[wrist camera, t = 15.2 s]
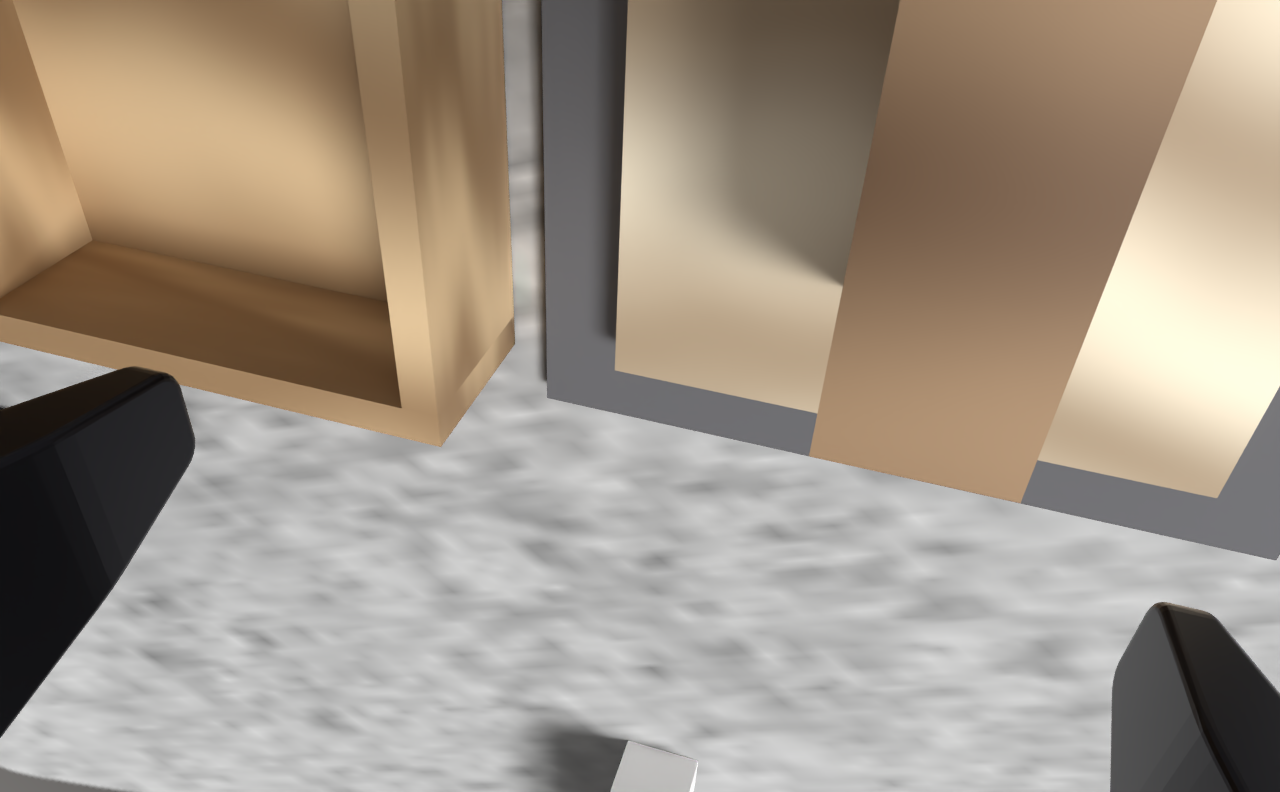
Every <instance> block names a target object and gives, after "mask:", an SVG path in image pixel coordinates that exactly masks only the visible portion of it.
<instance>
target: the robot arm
mask: <svg viewBox="0 0 1280 792" xmlns="http://www.w3.org/2000/svg"><path fill="white" fill-rule="evenodd" d="M194 449H195V437H194V433H193V429H192V426H191V422H190V419H189V415H188V412H187V408H186V405H185V402H184V398H183V395H182V391H181V388H180V385H179V383H178V382H177V380H176V379H175V378H174V377H173V376H172V375H170V374H168V373H165V372H161V371H157V370H153V369H148V368H144V367H138V366H130V367H125V368H122V369H119V370H116V371H113V372H110V373H107V374H104V375H102V376H99V377H96V378H93V379H90V380H87V381H84V382H81V383H78V384H75V385H72V386H69V387H67V388H64V389H61V390H58V391H55V392H52V393H49V394H46V395H43V396H40V397H37V398H34V399H31V400H29V401H26V402H23V403H20V404H17V405H14V406H11V407H8V408H5V409H2V410H0V738H1V737H2V735H3V734H4V733H5V731H6V730H7V729H8V727H9V726H10V725H11V723H12V722H13V721H14V719H15V718H16V717H17V715H18V714H19V713H20V711H21V710H22V709H23V708H24V706H25V705H26V704H27V702H28V701H29V700H30V698H31V697H32V696H33V694H34V693H35V692H36V690H37V689H38V688H39V686H40V685H41V684H42V682H43V681H44V680H45V678H46V677H47V676H48V674H49V673H50V672H51V671H52V669H53V668H54V667H55V665H56V664H57V663H58V661H59V660H60V659H61V657H62V656H63V655H64V653H65V652H66V651H67V649H68V648H69V647H70V645H71V644H72V643H73V641H74V640H75V639H76V638H77V636H78V635H79V634H80V632H81V631H82V630H83V628H84V627H85V626H86V624H87V623H88V622H89V620H90V619H91V618H92V616H93V615H94V614H95V612H96V611H97V610H98V608H99V607H100V606H101V604H102V603H103V601H104V600H105V599H106V597H107V596H108V595H109V593H110V592H111V590H112V589H113V588H114V586H115V584H116V583H117V581H118V580H119V578H120V577H121V575H122V574H123V572H124V570H125V569H126V567H127V566H128V564H129V563H130V561H131V559H132V558H133V556H134V554H135V553H136V551H137V549H138V548H139V546H140V545H141V543H142V541H143V540H144V538H145V536H146V535H147V533H148V531H149V530H150V528H151V526H152V525H153V523H154V522H155V520H156V518H157V517H158V515H159V513H160V512H161V510H162V508H163V507H164V505H165V504H166V502H167V500H168V499H169V497H170V495H171V494H172V492H173V490H174V489H175V487H176V485H177V484H178V482H179V481H180V479H181V477H182V476H183V474H184V472H185V471H186V469H187V467H188V466H189V464H190V462H191V460H192V457H193V454H194ZM1110 792H1280V693H1279V692H1278V691H1277V690H1276V688H1275V687H1274V686H1273V685H1272V684H1271V682H1270V681H1269V680H1268V679H1267V678H1266V676H1265V675H1264V674H1263V673H1262V672H1261V670H1260V669H1259V668H1258V667H1257V666H1256V664H1255V663H1254V662H1253V661H1252V660H1251V658H1250V657H1249V656H1248V655H1247V654H1246V652H1245V651H1244V650H1243V649H1242V648H1241V646H1240V645H1239V644H1238V643H1237V642H1236V640H1235V639H1234V638H1233V637H1232V636H1231V634H1230V633H1229V632H1228V631H1227V630H1226V628H1225V627H1224V626H1223V625H1222V624H1221V622H1220V621H1219V620H1218V619H1217V618H1215V617H1214V616H1213V615H1212V614H1210V613H1208V612H1205V611H1202V610H1198V609H1193V608H1189V607H1185V606H1180V605H1176V604H1172V603H1167V602H1160V603H1156V604H1154V605H1153V606H1152V607H1151V608H1150V609H1149V610H1148V611H1147V613H1146V615H1145V616H1144V618H1143V620H1142V622H1141V624H1140V625H1139V627H1138V629H1137V631H1136V633H1135V634H1134V636H1133V638H1132V640H1131V641H1130V643H1129V645H1128V647H1127V649H1126V650H1125V652H1124V654H1123V656H1122V658H1121V659H1120V661H1119V663H1118V666H1117V669H1116V671H1115V675H1114V680H1113V687H1112V723H1111V780H1110Z"/></svg>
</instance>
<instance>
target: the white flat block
mask: <svg viewBox="0 0 1280 792" xmlns="http://www.w3.org/2000/svg"><path fill="white" fill-rule="evenodd" d="M697 765H698V760H694V759H691V758H687V757H684V756H680V755H677V754H674V753H670V752H667V751H663V750H660V749H656V748H653V747H649V746H646V745H643V744H639V743H636V742H632V741H629V740H628V742H627V745H626V748H625V751H624V754H623V757H622V759H621V762H620V765H619V768H618V771H617V774H616V776H615V779H614V782H613V785H612V788H611V791H610V792H694V787H695V779H696V772H697Z"/></svg>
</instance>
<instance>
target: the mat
mask: <svg viewBox="0 0 1280 792" xmlns="http://www.w3.org/2000/svg"><path fill="white" fill-rule="evenodd" d="M541 2H542V70H543V138H544V206H545V273H546V341H547V398H551V399H555V400H560V401H564V402H569V403H573V404H578V405H582V406H586V407H591V408H595V409H600V410H604V411H609V412H613V413H618V414H622V415H627V416H631V417H636V418H640V419H645V420H649V421H654V422H658V423H663V424H667V425H672V426H676V427H681V428H685V429H689V430H694V431H698V432H703V433H707V434H712V435H716V436H721V437H725V438H730V439H734V440H739V441H743V442H748V443H752V444H757V445H761V446H766V447H770V448H775V449H779V450H784V451H788V452H793V453H797V454H801V455H806V456H809V453H810V448H811V443H812V438H813V433H814V428H815V423H816V418H817V413H813V412H809V411H804V410H799V409H794V408H790V407H785V406H780V405H776V404H771V403H766V402H761V401H757V400H752V399H747V398H743V397H738V396H733V395H729V394H724V393H719V392H714V391H710V390H705V389H700V388H696V387H691V386H686V385H681V384H677V383H672V382H667V381H663V380H658V379H653V378H649V377H644V376H639V375H634V374H630V373H625V372H620V371H616V370H615V351H616V323H617V295H618V267H619V239H620V211H621V183H622V155H623V127H624V99H625V71H626V43H627V15H628V0H541ZM913 480H914V479H913ZM922 482H923V481H922ZM931 484H932V483H931ZM940 486H941V485H940ZM949 488H950V487H949ZM958 490H959V489H958ZM967 492H968V491H967ZM976 494H977V493H976ZM985 496H986V495H985ZM994 498H995V497H994ZM1003 500H1004V499H1003ZM1012 502H1013V501H1012ZM1016 503H1018V502H1016ZM1021 504H1025V505H1030V506H1034V507H1039V508H1043V509H1048V510H1052V511H1057V512H1061V513H1066V514H1070V515H1075V516H1079V517H1084V518H1088V519H1093V520H1097V521H1102V522H1106V523H1111V524H1115V525H1120V526H1124V527H1128V528H1133V529H1137V530H1142V531H1146V532H1151V533H1155V534H1160V535H1164V536H1169V537H1173V538H1178V539H1182V540H1187V541H1191V542H1196V543H1200V544H1205V545H1209V546H1214V547H1218V548H1223V549H1227V550H1231V551H1236V552H1240V553H1245V554H1249V555H1254V556H1258V557H1263V558H1267V559H1272V560H1277V558H1278V556H1279V555H1280V387H1279V388H1278V390H1277V392H1276V394H1275V396H1274V397H1273V399H1272V401H1271V403H1270V405H1269V406H1268V408H1267V410H1266V412H1265V413H1264V415H1263V417H1262V419H1261V421H1260V422H1259V424H1258V426H1257V428H1256V430H1255V431H1254V433H1253V435H1252V437H1251V439H1250V440H1249V442H1248V444H1247V446H1246V447H1245V449H1244V451H1243V453H1242V455H1241V456H1240V458H1239V460H1238V462H1237V464H1236V465H1235V467H1234V469H1233V471H1232V472H1231V474H1230V476H1229V478H1228V480H1227V481H1226V483H1225V485H1224V487H1223V489H1222V490H1221V492H1220V494H1219V496H1218V498H1213V497H1209V496H1204V495H1199V494H1194V493H1190V492H1185V491H1180V490H1176V489H1171V488H1166V487H1161V486H1157V485H1152V484H1147V483H1143V482H1138V481H1133V480H1129V479H1124V478H1119V477H1114V476H1110V475H1105V474H1100V473H1096V472H1091V471H1086V470H1081V469H1077V468H1072V467H1067V466H1063V465H1058V464H1053V463H1049V462H1044V461H1039V460H1037V462H1036V465H1035V467H1034V470H1033V472H1032V475H1031V478H1030V480H1029V483H1028V485H1027V488H1026V490H1025V493H1024V495H1023V498H1022V501H1021Z"/></svg>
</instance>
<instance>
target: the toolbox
mask: <svg viewBox="0 0 1280 792" xmlns="http://www.w3.org/2000/svg"><path fill="white" fill-rule="evenodd" d="M0 341H1V342H5V343H9V344H13V345H17V346H21V347H26V348H30V349H34V350H38V351H42V352H46V353H51V354H55V355H59V356H63V357H67V358H72V359H76V360H80V361H84V362H88V363H92V364H97V365H101V366H105V367H109V368H113V369H117V370H119V369H122V368H125V367H130V366H138V367H144V368H148V369H153V370H157V371H161V372H165V373H168V374H170V375H172V376H173V377H174V378H175V379H176V380H177V382H178V383H179V384H180V385H184V386H188V387H193V388H197V389H201V390H205V391H209V392H213V393H218V394H222V395H226V396H230V397H234V398H239V399H243V400H247V401H251V402H255V403H259V404H264V405H268V406H272V407H276V408H280V409H284V410H289V411H293V412H297V413H301V414H305V415H310V416H314V417H318V418H322V419H326V420H330V421H335V422H339V423H343V424H347V425H351V426H355V427H360V428H364V429H368V430H372V431H376V432H381V433H385V434H389V435H393V436H397V437H401V438H406V439H410V440H414V441H418V442H422V443H426V444H431V445H435V446H439V447H441V446H442V445H443V443H444V442H445V441H446V439H447V438H448V436H449V435H450V434H451V432H452V431H453V429H454V428H455V427H456V425H457V424H458V422H459V421H460V420H461V418H462V417H463V415H464V414H465V413H466V411H467V410H468V409H469V407H470V406H471V404H472V403H473V402H474V400H475V399H476V397H477V396H478V395H479V393H480V392H481V390H482V389H483V388H484V386H485V385H486V383H487V382H488V381H489V379H490V378H491V376H492V375H493V374H494V372H495V371H496V370H497V368H498V367H499V365H500V364H501V363H502V361H503V360H504V358H505V357H506V356H507V354H508V353H509V351H510V350H511V349H512V347H513V346H514V344H515V331H514V306H513V280H512V254H511V228H510V203H509V177H508V151H507V125H506V99H505V74H504V48H503V22H502V0H0Z"/></svg>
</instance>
